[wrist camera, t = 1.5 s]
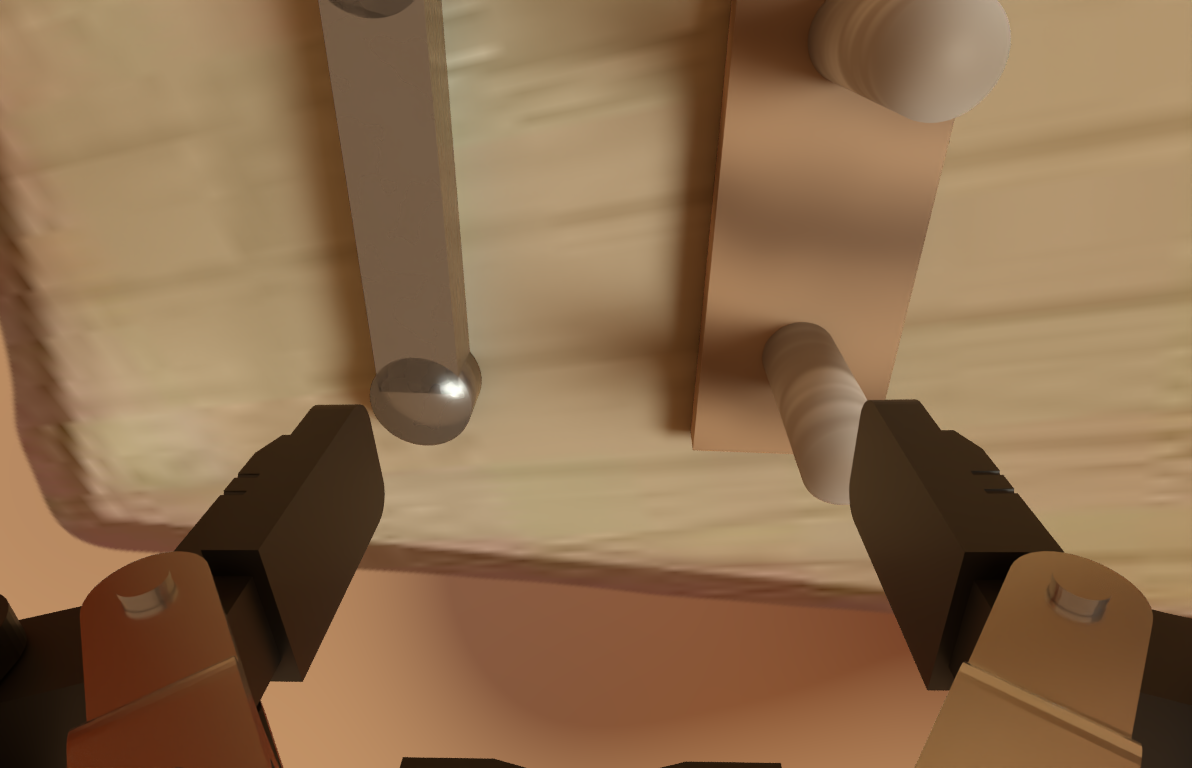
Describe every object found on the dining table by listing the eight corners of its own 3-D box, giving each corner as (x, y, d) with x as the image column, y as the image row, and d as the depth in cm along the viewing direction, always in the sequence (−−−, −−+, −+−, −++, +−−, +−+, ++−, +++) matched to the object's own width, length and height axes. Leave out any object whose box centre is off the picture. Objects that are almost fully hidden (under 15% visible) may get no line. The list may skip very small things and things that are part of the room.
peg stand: (745, -142, 23) (807, -215, 15) (998, -140, 23) (1208, -213, 14) (690, 432, 34) (709, 577, 25) (861, 438, 33) (937, 587, 25)
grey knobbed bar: (313, -135, 24) (280, -147, 21) (444, -133, 23) (424, -146, 21) (393, 414, 34) (377, 443, 32) (484, 417, 34) (474, 447, 32)
